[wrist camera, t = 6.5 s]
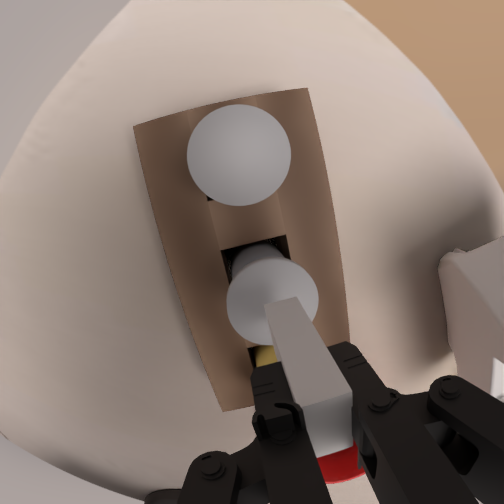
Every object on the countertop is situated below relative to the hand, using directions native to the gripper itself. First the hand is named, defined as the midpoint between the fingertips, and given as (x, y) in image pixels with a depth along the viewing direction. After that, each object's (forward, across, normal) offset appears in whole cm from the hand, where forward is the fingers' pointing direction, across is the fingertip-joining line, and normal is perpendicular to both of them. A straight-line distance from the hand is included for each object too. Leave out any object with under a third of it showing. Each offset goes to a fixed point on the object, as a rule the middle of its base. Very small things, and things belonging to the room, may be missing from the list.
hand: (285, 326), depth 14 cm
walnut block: (+14, 0, 0) cm, 14 cm away
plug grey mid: (+10, 0, 0) cm, 10 cm away
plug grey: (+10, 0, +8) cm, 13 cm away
